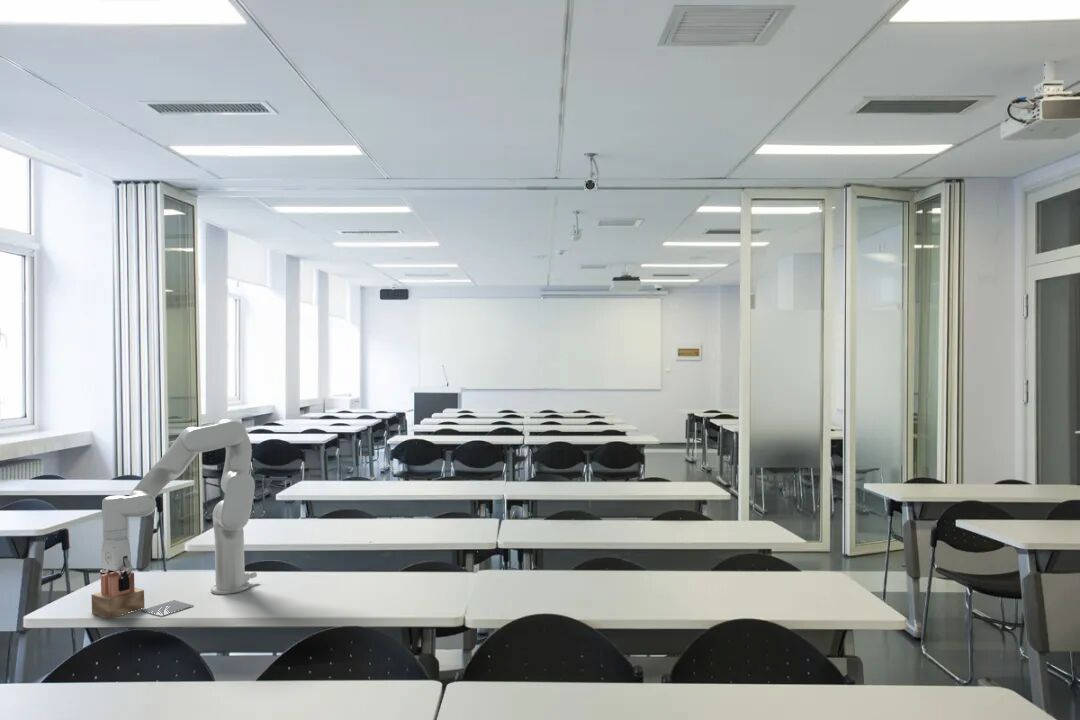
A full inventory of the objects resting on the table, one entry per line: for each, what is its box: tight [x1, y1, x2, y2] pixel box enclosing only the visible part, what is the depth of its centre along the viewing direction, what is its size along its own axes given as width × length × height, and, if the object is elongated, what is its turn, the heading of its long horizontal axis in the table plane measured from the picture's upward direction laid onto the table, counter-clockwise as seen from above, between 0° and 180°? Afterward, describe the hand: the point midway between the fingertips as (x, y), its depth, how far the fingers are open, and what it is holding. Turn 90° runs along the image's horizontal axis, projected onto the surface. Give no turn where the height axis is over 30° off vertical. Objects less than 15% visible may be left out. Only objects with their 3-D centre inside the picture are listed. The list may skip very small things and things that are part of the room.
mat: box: [141, 599, 194, 615], centre depth 240 cm, size 11×11×1 cm
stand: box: [91, 587, 145, 620], centre depth 240 cm, size 11×11×10 cm
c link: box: [100, 571, 136, 597], centre depth 240 cm, size 7×7×6 cm
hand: (117, 588), depth 240 cm, fingers closed on c link, 7 cm apart
